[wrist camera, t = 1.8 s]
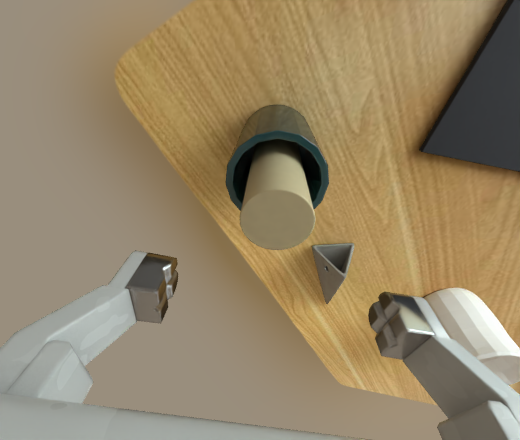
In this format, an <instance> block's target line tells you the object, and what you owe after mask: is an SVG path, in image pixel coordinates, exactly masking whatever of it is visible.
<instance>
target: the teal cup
mask: <svg viewBox="0 0 520 440" xmlns="http://www.w3.org/2000/svg"><path fill="white" fill-rule="evenodd" d="M273 139H282V140H287V141H292V142H297V145H298V149H299V153H300V157H301V161H302V165H303V169H304V173H305V177H306V181H307V185H308V189H309V193H310V197H311V201H312V205H313V209H315V208H316V207H317V206H318V205H319V204H320V203H321V202H322V200H323V197H324V195H325V192H326V190H327V187H328V185H329V177H328V165H327V162H326V160H325V158H324V156H323V154H322V152H321V149H320V147H319V145H318V143H317V141H316V139H315V137H314V135H313V133H312V131H311V129H310V127H309V125H308V123H307V121H306V119H305V118H304V116H302V115H301V114H300V113H299V112H298V111H296V110H295V109H293V108H291V107H288V106H285V105H269V106H266V107H263V108H261V109H259V110H258V111H256V112H255V113H254V114H253V115H252V116H251V117H250V118H249V119H248V121H247V122H246V124H245V126H244V128H243V129H242V132H241V134H240V136H239V139H238V141H237V143H236V146H235V148H234V150H233V153H232V155H231V157H230V160H229V162H228V165H227V173H226V186H227V189H228V192H229V195H230V198H231V200H232V202H233V203H234V204H235V205H236V206H237V208H238V209H239V210H240V211H241V209H242V204H243V199H244V195H245V190H246V185H247V181H248V176H249V171H250V167H251V162H252V157H253V153H254V148H255V145H256V144H257V143H259V142H263V141H268V140H273Z"/></svg>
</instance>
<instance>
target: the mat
mask: <svg viewBox="0 0 520 440" xmlns="http://www.w3.org/2000/svg"><path fill="white" fill-rule="evenodd" d="M419 150H420V151H421V152H425V153H430V154H435V155H440V156H445V157H450V158H455V159H460V160H464V161H469V162H474V163H479V164H484V165H489V166H494V167H499V168H504V169H509V170H514V171H519V172H520V0H508V1H507V3H506V4H505V6H504V8H503V9H502V11H501V13H500V14H499V16H498V18H497V19H496V21H495V23H494V25H493V26H492V28H491V30H490V31H489V33H488V35H487V36H486V38H485V40H484V41H483V43H482V45H481V46H480V48H479V50H478V51H477V53H476V55H475V57H474V58H473V60H472V62H471V63H470V65H469V67H468V68H467V70H466V72H465V73H464V75H463V77H462V78H461V80H460V82H459V83H458V85H457V87H456V88H455V90H454V92H453V94H452V95H451V97H450V99H449V100H448V102H447V104H446V105H445V107H444V109H443V110H442V112H441V114H440V115H439V117H438V119H437V120H436V122H435V124H434V125H433V127H432V129H431V131H430V132H429V134H428V136H427V137H426V139H425V141H424V142H423V144H422V146H421V147H420V149H419Z"/></svg>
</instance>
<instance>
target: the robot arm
mask: <svg viewBox="0 0 520 440" xmlns="http://www.w3.org/2000/svg"><path fill="white" fill-rule="evenodd" d="M176 266H177V258H174V257H168V256H163V255H158V254H153V253H147V252H141V251H134V252H132V253H131V254H130V256H129V257H128V258H127V260H126V261H125V262H124V264H123V265H122V267H121V268H120V269H119V271H118V272H117V273H116V275H115V276H114V277H113V279H112V280H111V281H110V283H109V284H108V285H107V286H106V285H102V286H100V287H98V288H97V289H95V290H93V291H91V292H89V293H87V294H86V295H84V296H82V297H80V298H78V299H76V300H75V301H73V302H71V303H69V304H67V305H65V306H63V307H62V308H60V309H58V310H56V311H54V312H52V313H51V314H49V315H47V316H45V317H43V318H41V319H40V320H38V321H36V322H34V323H32V324H30V325H28V326H27V327H25V328H23V329H21V330H19V331H17V332H16V333H14V334H13V336H12V337H11V338H10V339H9V340H8V341H7V342H6V343H5V344H4V345H3V346H2V347H1V348H0V440H370V439H362V438H354V437H346V436H338V435H330V434H321V433H314V432H306V431H298V430H290V429H282V428H274V427H266V426H258V425H249V424H241V423H233V422H225V421H217V420H209V419H201V418H193V417H185V416H177V415H168V414H161V413H153V412H145V411H137V410H129V409H121V408H113V407H105V406H96V405H89V404H82V402H83V401H84V399H85V397H86V395H87V393H88V391H89V390H90V388H91V386H92V384H93V380H92V377H91V376H90V374H89V372H88V371H87V369H86V368H85V365H86V364H88V363H89V362H90V361H91V360H92V359H94V358H95V357H96V356H97V355H98V354H100V353H101V352H102V351H103V350H104V349H105V348H107V347H108V346H109V345H110V344H111V343H113V342H114V341H115V340H116V339H117V338H118V337H120V336H121V335H122V334H123V333H124V332H126V330H128V329H129V328H130V327H131V326H132V325H134V324H135V323H136V322H137V321H144V322H153V323H161V322H162V320H163V318H164V315H165V313H166V311H167V308H168V299H170V298H171V297H172V296H173V294H174V292H175V289H176V285H177V281H178V272H177V271H176V270H175V269H176ZM378 298H379V301H378V302H376V303H373V304H372V306H371V307H370V309H369V315H368V316H369V322H370V325H371V327H372V328H373V330H374V331H375V332H376V333H377V334H376V337H375V339H376V342H377V345H378V348H379V350H380V353H381V356H385V357H390V358H396V359H402V360H403V362H404V363H405V365H406V366H407V367H408V368H409V370H410V371H411V372H412V373H413V375H414V376H415V377H416V378H417V380H418V381H419V382H420V383H421V385H422V386H423V387H424V388H425V390H426V391H427V392H428V393H429V395H430V396H431V397H432V398H433V400H434V401H435V402H436V403H437V405H438V406H439V407H440V408H441V409H442V411H443V412H444V413H445V415H446V416H447V417H448V418H449V419H447V420H445V421H443V422H440V423H439V424H438V427H437V428H438V430H439V433H440V435H441V437H442V440H520V395H519V394H518V393H517V392H516V391H515V390H513V389H512V388H511V387H510V386H509V385H507V384H506V383H505V382H504V381H503V380H502V379H500V378H499V377H498V376H497V375H496V374H494V373H493V372H492V371H491V370H490V369H489V368H487V367H486V366H485V365H484V364H483V363H481V362H480V361H479V360H478V359H477V358H476V357H474V356H473V355H472V354H471V353H470V352H469V351H467V350H466V349H465V348H464V347H463V346H461V345H460V344H459V343H458V342H457V341H456V340H454V339H450V338H449V336H448V334H447V333H446V331H445V330H444V328H443V326H442V325H441V323H440V321H439V320H438V318H437V317H436V315H435V313H434V312H433V310H432V309H431V307H430V305H429V304H428V302H427V301H426V300H425V299H424V298H422V297H416V296H409V295H404V294H397V293H391V292H383V293H381V294H380V295H379V297H378Z"/></svg>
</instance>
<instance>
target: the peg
mask: <svg viewBox="0 0 520 440" xmlns="http://www.w3.org/2000/svg"><path fill="white" fill-rule="evenodd" d="M240 225H241V228H242V231H243V232H244V234H245V236H246V237H247V238H248V239H249V240H250V241H251V242H253V243H254V244H256V245H258V246H260V247H263V248H266V249H271V250H283V249H288V248H292V247H294V246H297V245H299V244H300V243H302V242H303V241H304V240H306V239H307V238H308V236H309V235H310V234H311V232H312V230H313V228H314V225H315V213H314V209H313V205H312V201H311V197H310V193H309V189H308V185H307V181H306V177H305V173H304V169H303V165H302V161H301V157H300V153H299V149H298V145H297V142H292V141H287V140H282V139H273V140H268V141H263V142H259V143H257V144H256V145H255V148H254V153H253V157H252V162H251V167H250V171H249V176H248V181H247V185H246V190H245V195H244V199H243V204H242V209H241V213H240Z"/></svg>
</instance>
